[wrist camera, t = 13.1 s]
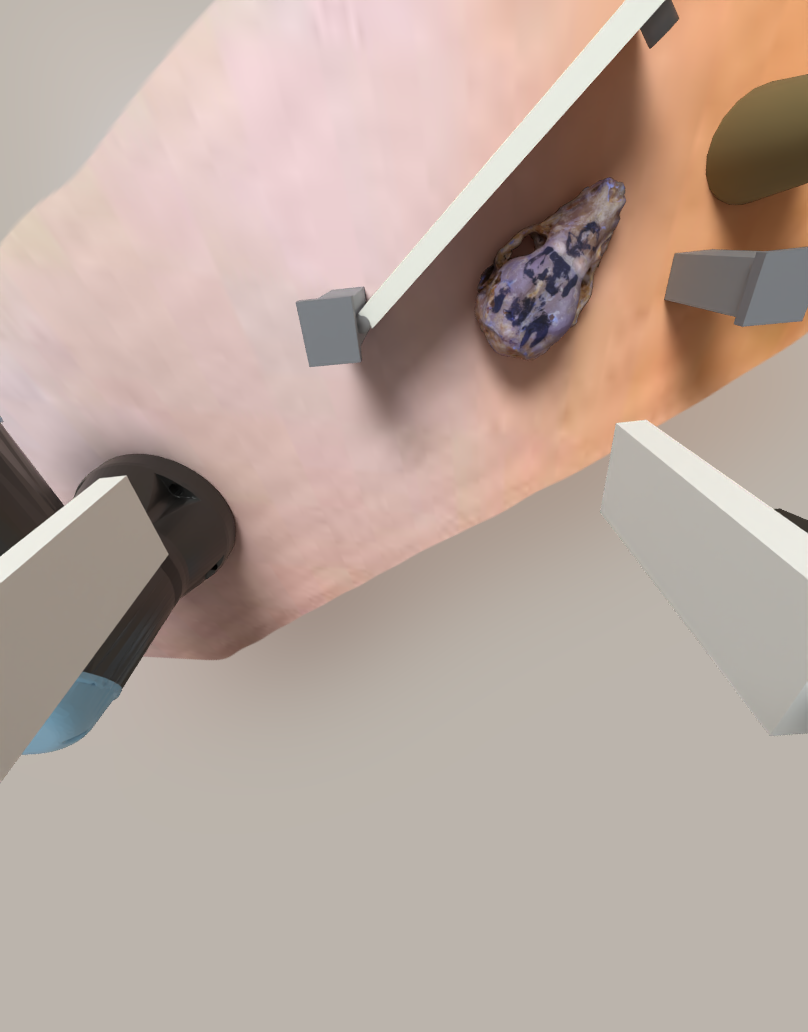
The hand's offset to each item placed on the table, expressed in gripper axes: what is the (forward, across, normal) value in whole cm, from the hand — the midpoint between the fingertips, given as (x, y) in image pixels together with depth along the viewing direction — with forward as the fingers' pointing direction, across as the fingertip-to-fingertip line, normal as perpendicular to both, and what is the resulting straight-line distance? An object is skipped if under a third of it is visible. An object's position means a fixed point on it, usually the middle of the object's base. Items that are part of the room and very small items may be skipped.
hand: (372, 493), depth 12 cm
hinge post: (+26, -3, +2) cm, 26 cm away
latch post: (+25, +23, +2) cm, 34 cm away
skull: (+26, +12, +3) cm, 29 cm away
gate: (+26, +8, +8) cm, 28 cm away
